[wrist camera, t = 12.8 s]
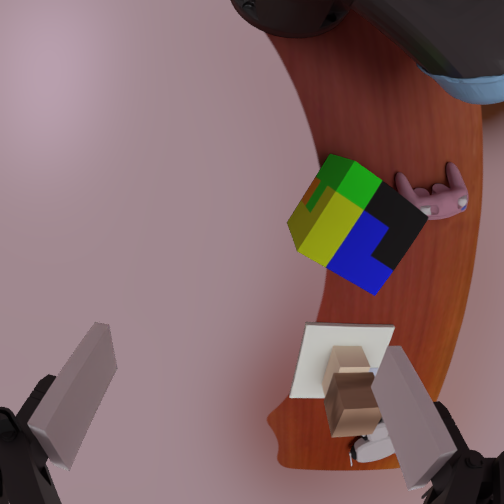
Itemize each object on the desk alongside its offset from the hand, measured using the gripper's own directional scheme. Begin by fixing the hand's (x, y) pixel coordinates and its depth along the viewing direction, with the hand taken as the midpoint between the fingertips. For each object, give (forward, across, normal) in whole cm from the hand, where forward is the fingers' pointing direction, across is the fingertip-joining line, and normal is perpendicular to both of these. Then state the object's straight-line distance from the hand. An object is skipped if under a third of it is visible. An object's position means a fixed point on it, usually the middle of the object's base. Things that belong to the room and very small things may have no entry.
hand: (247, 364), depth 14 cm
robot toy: (+27, +29, -41) cm, 57 cm away
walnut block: (+21, +16, -22) cm, 34 cm away
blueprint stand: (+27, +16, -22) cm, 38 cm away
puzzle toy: (+27, +11, +2) cm, 29 cm away
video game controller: (+27, +23, +7) cm, 36 cm away
